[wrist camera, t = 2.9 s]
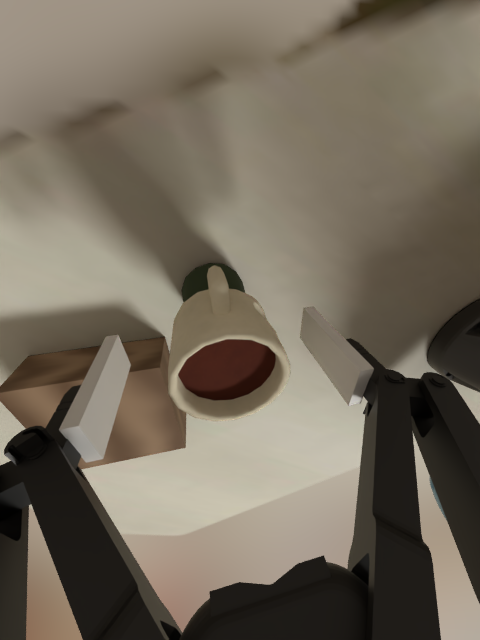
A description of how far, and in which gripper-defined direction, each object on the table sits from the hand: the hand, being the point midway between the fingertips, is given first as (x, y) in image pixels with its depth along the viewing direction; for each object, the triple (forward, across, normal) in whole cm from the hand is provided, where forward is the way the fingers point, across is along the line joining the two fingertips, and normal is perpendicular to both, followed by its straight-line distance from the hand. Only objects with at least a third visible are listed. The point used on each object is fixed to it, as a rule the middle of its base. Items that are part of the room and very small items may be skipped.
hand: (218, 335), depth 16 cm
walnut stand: (+9, +13, +12) cm, 20 cm away
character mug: (+9, 0, 0) cm, 9 cm away
